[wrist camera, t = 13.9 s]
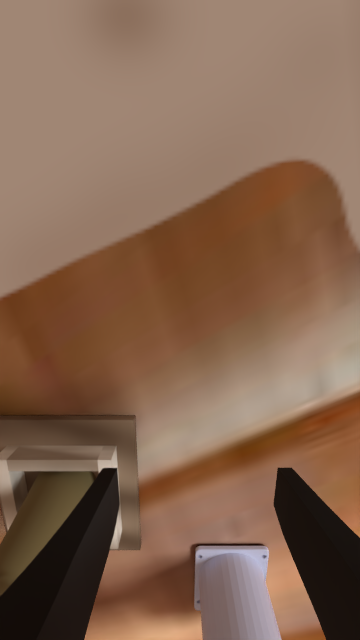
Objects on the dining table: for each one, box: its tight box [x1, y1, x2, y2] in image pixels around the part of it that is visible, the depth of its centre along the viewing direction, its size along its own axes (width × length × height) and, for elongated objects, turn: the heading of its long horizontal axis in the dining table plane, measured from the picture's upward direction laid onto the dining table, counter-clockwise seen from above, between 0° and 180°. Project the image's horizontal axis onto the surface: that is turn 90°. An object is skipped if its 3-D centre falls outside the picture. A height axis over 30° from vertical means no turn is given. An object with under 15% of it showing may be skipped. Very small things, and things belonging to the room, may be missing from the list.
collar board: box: [0, 416, 141, 550], centre depth 21 cm, size 16×14×2 cm
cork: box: [0, 471, 96, 596], centre depth 16 cm, size 6×6×11 cm
